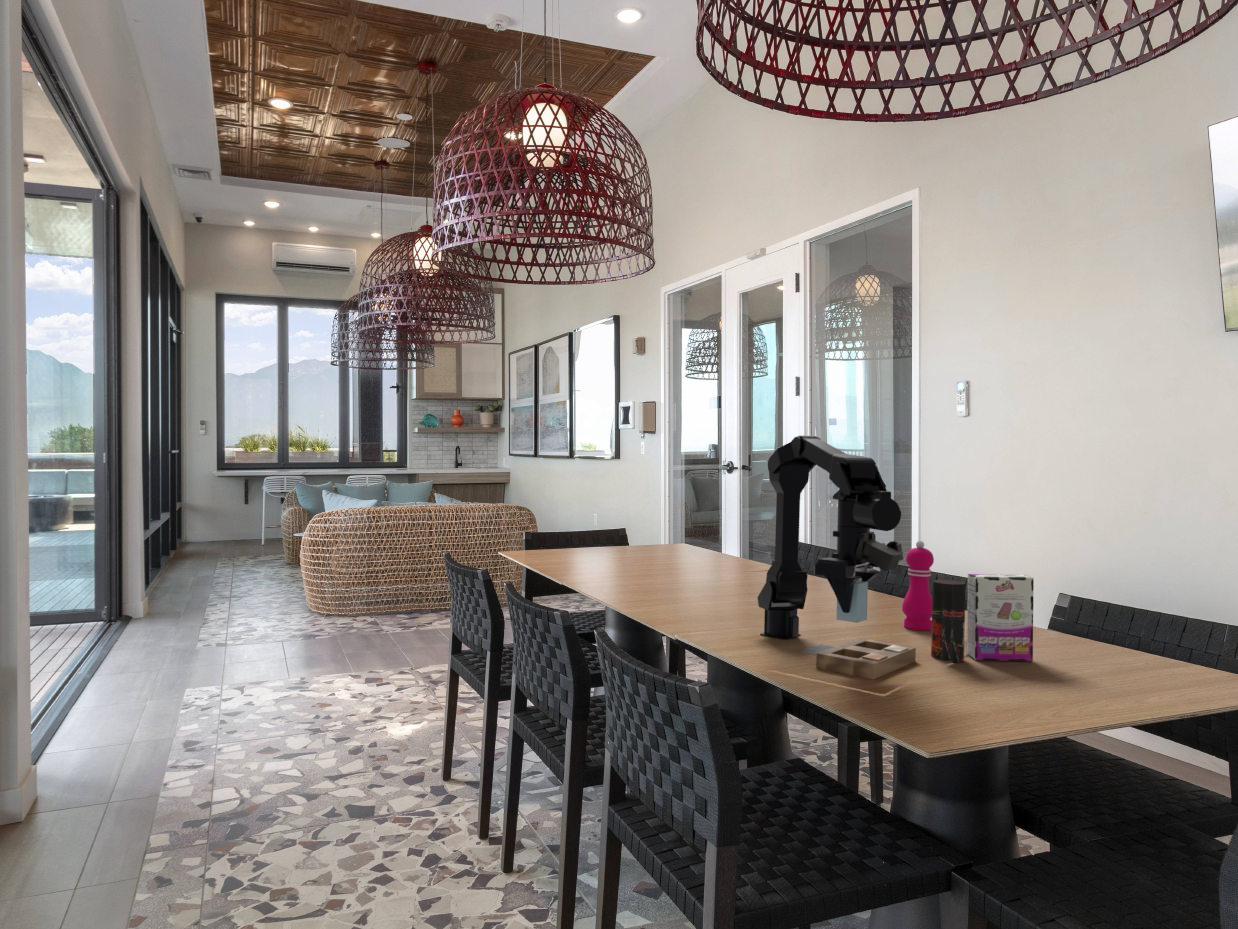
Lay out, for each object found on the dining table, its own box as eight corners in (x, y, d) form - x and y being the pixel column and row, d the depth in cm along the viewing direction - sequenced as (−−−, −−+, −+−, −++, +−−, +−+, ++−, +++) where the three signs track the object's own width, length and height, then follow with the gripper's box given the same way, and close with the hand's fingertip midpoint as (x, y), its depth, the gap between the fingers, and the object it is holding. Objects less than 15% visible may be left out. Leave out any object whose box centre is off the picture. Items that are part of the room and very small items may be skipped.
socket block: (816, 669, 151) (816, 651, 151) (861, 653, 165) (861, 636, 165) (873, 681, 144) (873, 662, 144) (915, 663, 157) (915, 646, 157)
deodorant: (966, 663, 158) (968, 585, 158) (933, 661, 159) (935, 583, 159) (960, 656, 164) (962, 580, 163) (928, 654, 165) (930, 579, 165)
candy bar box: (1021, 656, 165) (1023, 573, 165) (1033, 662, 160) (1035, 577, 160) (964, 654, 165) (966, 572, 165) (974, 661, 160) (976, 576, 160)
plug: (836, 619, 152) (837, 578, 152) (846, 616, 155) (847, 575, 154) (856, 622, 149) (857, 580, 149) (866, 619, 152) (867, 578, 152)
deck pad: (798, 653, 164) (798, 651, 163) (821, 646, 170) (821, 644, 170) (840, 662, 157) (840, 659, 157) (862, 654, 164) (862, 652, 164)
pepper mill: (939, 631, 187) (941, 542, 187) (907, 630, 187) (909, 542, 187) (928, 624, 194) (930, 539, 194) (897, 624, 194) (899, 538, 194)
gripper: (872, 532, 139) (870, 625, 139) (917, 526, 153) (915, 610, 153) (813, 527, 147) (811, 615, 147) (861, 522, 161) (859, 602, 161)
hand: (851, 611), depth 152 cm, fingers closed on plug, 4 cm apart
